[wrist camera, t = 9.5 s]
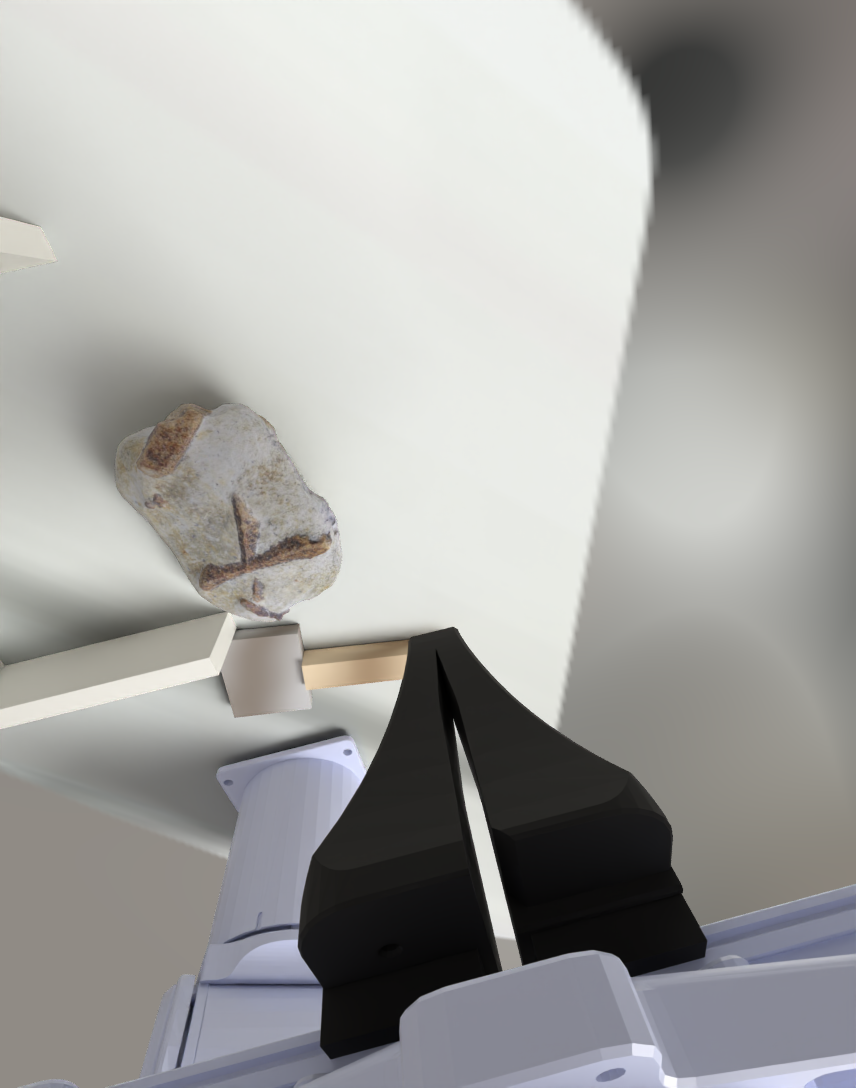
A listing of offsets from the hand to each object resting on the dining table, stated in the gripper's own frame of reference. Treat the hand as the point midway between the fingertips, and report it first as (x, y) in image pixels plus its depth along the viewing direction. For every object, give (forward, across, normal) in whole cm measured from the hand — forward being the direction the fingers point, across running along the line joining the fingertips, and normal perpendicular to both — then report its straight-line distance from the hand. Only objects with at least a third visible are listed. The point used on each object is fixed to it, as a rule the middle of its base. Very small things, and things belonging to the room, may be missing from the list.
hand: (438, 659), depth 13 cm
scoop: (+10, +5, +7) cm, 13 cm away
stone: (+10, +5, -6) cm, 12 cm away
